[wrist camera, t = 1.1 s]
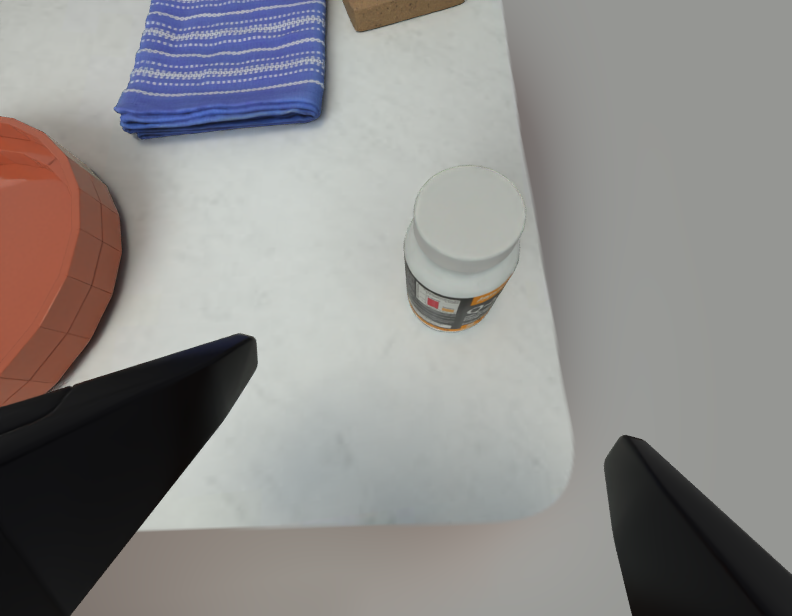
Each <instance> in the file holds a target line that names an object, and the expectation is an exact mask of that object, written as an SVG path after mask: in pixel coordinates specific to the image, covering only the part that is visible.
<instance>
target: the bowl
mask: <svg viewBox="0 0 792 616" xmlns="http://www.w3.org/2000/svg"><path fill="white" fill-rule="evenodd" d="M121 255H122V243H121V228H120V216H119V213H118V211H117V209H116V206H115V204H114V202H113V199H112V197H111V195H110V192H109V190H108V188H107V186H106V185H105V184H104V183H103V182H102V181H101V180H100V179H99V178H98V177H97V176H96V175H95V174H94V172H93V171H92V170H91V169H90V168H89V167H88V166H87V165H86V164H84V163H83V162H82V161H80V160H79V159H78V158H77V157H75V156H74V155H73V154H71V153H70V152H69V151H67V150H66V149H65V148H64V147H62V146H61V145H60V144H58V143H57V142H56V141H55V140H53V139H52V138H51V137H49V136H48V135H47V134H45V133H44V132H42V131H40V130H38V129H35V128H33V127H31V126H29V125H27V124H25V123H23V122H20V121H18V120H16V119H14V118H9V117H2V116H0V407H2V406H5V405H9V404H13V403H16V402H19V401H23V400H26V399H29V398H33V397H36V396H39V395H43V394H45V393H46V392H48V391H49V390H50V389H51V388H52V387H53V386H54V385H56V383H57V382H58V381H59V380H60V379H61V377H62V376H63V375H64V373H65V372H66V371H67V370H68V368H69V367H70V366H71V364H72V363H73V362H74V361H75V359H76V358H77V357H78V355H79V354H80V353H81V352H82V350H83V349H84V348H85V346H86V345H87V344H88V343H89V341H90V339H91V338H92V336H93V334H94V332H95V330H96V328H97V326H98V324H99V322H100V320H101V317H102V315H103V313H104V311H105V309H106V307H107V305H108V303H109V301H110V299H111V297H112V294H113V291H114V286H115V282H116V277H117V273H118V268H119V264H120V260H121Z"/></svg>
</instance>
